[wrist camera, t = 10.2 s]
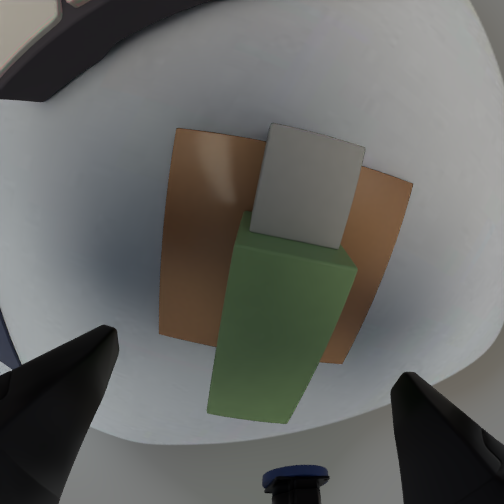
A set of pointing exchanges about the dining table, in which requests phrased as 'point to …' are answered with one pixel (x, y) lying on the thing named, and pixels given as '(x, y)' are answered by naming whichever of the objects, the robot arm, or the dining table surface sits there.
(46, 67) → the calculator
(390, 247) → the coaster
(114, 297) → the dining table surface
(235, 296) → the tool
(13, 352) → the napkin
